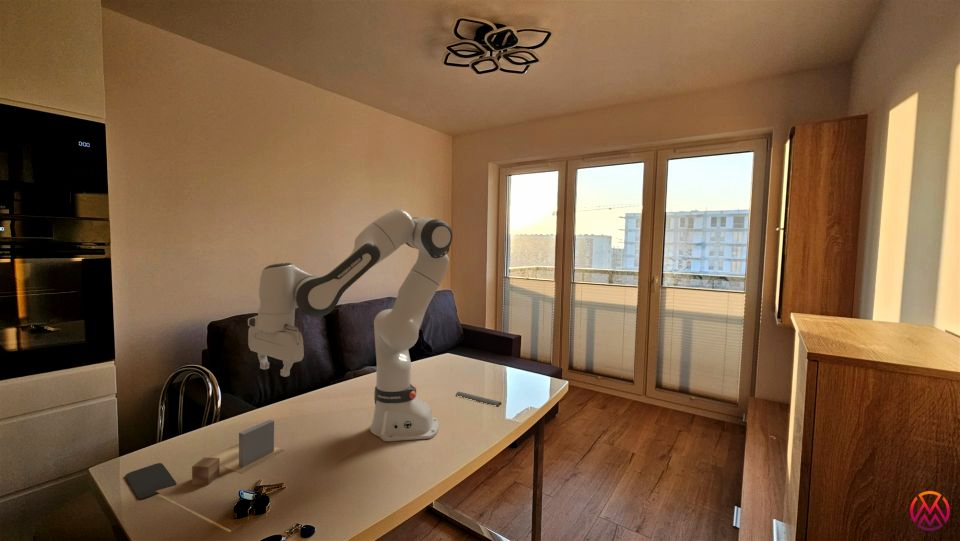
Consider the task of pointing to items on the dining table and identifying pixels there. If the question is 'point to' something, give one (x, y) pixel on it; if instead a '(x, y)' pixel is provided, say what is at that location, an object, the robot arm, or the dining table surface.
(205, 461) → the walnut block
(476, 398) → the grey toothed bar
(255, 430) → the slate tile
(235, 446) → the cork board
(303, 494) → the dining table surface
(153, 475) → the phone
